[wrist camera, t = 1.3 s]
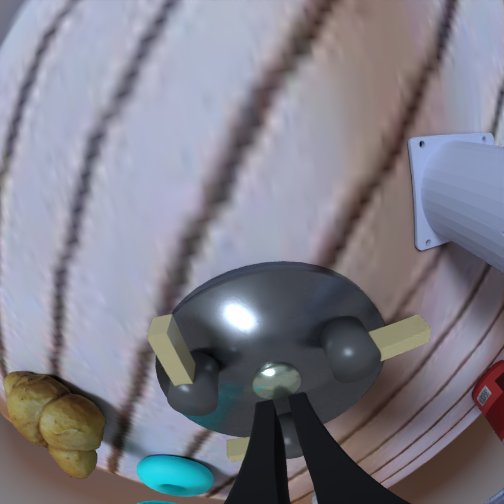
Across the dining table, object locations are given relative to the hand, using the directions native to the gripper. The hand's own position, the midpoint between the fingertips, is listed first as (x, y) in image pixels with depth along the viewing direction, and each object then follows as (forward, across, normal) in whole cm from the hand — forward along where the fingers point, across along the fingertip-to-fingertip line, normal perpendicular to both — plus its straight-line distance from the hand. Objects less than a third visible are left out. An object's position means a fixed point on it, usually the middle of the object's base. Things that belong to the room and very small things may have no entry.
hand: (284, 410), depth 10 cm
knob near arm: (+8, -7, +4) cm, 11 cm away
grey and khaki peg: (+8, +6, +2) cm, 10 cm away
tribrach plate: (+9, 0, +6) cm, 11 cm away
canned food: (+10, -30, +26) cm, 40 cm away
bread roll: (+10, +24, +8) cm, 27 cm away
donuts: (+10, +16, +24) cm, 30 cm away
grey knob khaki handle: (+8, +2, +12) cm, 15 cm away
